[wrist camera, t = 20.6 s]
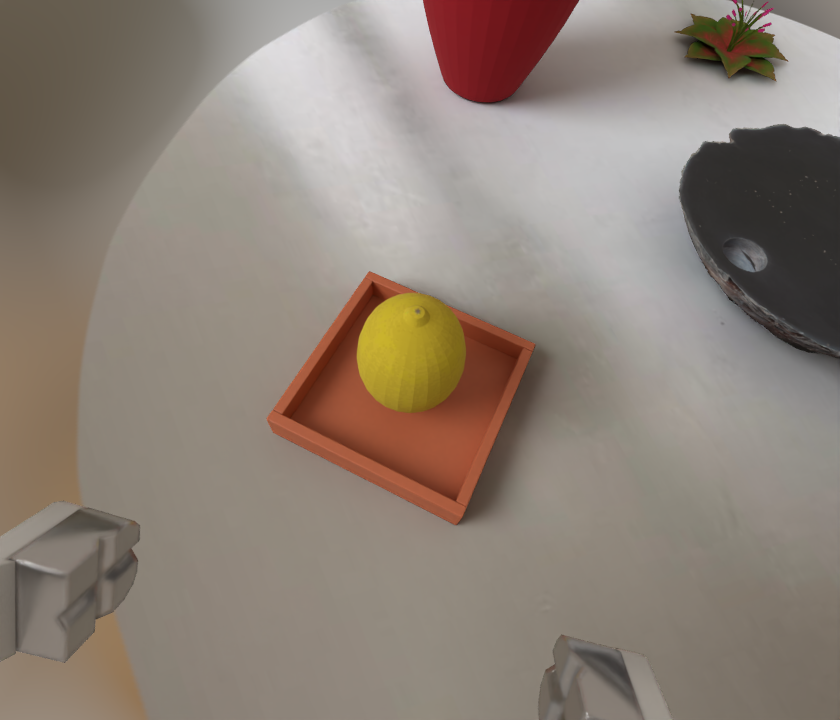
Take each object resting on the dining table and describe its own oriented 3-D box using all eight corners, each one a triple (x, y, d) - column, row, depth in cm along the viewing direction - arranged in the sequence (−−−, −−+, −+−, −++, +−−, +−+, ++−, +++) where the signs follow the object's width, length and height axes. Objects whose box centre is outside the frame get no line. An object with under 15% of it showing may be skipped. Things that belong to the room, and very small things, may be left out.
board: (649, 367, 31) (694, 323, 27) (645, 148, 42) (677, 91, 38) (999, 447, 31) (1105, 415, 26) (904, 203, 41) (968, 152, 37)
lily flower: (787, 101, 47) (825, 52, 43) (664, 67, 48) (690, 16, 44) (784, 38, 53) (817, -10, 49) (674, 9, 54) (698, -41, 50)
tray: (456, 525, 26) (462, 518, 24) (272, 432, 27) (265, 418, 26) (527, 360, 31) (536, 343, 29) (369, 289, 33) (369, 270, 31)
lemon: (450, 439, 28) (476, 373, 21) (351, 427, 27) (343, 357, 20) (456, 353, 30) (481, 270, 23) (366, 342, 30) (364, 255, 23)
